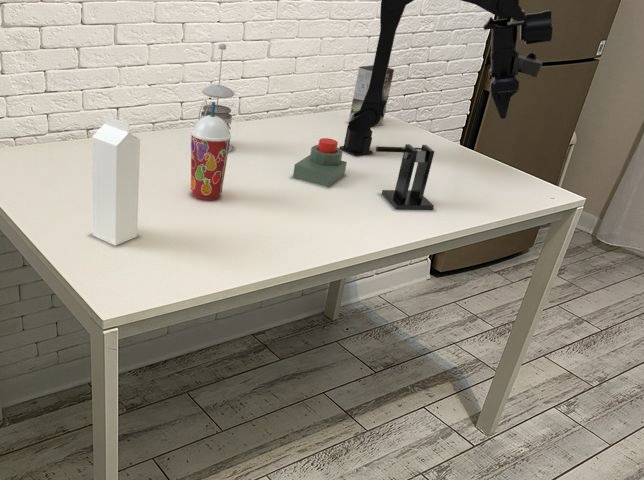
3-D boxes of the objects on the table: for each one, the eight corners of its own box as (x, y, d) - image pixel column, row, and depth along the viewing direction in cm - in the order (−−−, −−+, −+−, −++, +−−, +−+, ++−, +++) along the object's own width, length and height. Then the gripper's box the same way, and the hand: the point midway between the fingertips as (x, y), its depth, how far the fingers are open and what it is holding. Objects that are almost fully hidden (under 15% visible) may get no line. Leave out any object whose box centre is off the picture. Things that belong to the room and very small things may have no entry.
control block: (311, 165, 184) (315, 141, 181) (345, 174, 181) (349, 150, 178) (292, 178, 175) (296, 153, 172) (327, 187, 172) (331, 162, 169)
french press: (239, 147, 190) (250, 45, 177) (215, 157, 182) (225, 51, 168) (208, 138, 194) (216, 37, 181) (182, 147, 186) (189, 42, 172)
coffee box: (364, 128, 216) (376, 72, 207) (347, 122, 219) (358, 66, 211) (383, 124, 222) (394, 69, 213) (365, 118, 225) (376, 63, 216)
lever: (374, 154, 170) (376, 143, 169) (426, 155, 172) (428, 145, 171) (392, 161, 161) (394, 150, 160) (446, 163, 164) (448, 152, 163)
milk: (114, 227, 143) (116, 112, 131) (137, 237, 140) (141, 120, 128) (91, 236, 138) (91, 117, 126) (115, 246, 136) (117, 126, 124)
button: (321, 147, 179) (323, 136, 178) (338, 151, 177) (340, 141, 176) (314, 151, 176) (316, 140, 174) (331, 156, 174) (333, 145, 173)
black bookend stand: (381, 194, 172) (393, 140, 165) (416, 195, 174) (430, 141, 167) (395, 210, 164) (409, 154, 157) (432, 210, 166) (447, 155, 159)
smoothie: (229, 193, 163) (239, 101, 152) (217, 206, 156) (226, 110, 145) (194, 185, 165) (201, 94, 154) (180, 197, 158) (187, 103, 147)
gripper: (544, 49, 165) (540, 120, 173) (537, 36, 180) (534, 101, 188) (491, 55, 168) (490, 124, 176) (489, 42, 184) (488, 106, 191)
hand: (502, 113), depth 183 cm, fingers open, 9 cm apart
